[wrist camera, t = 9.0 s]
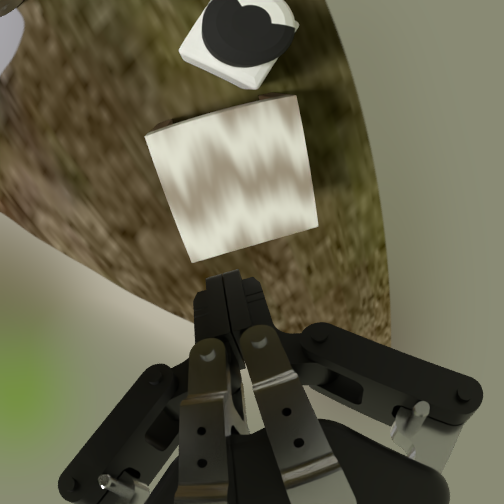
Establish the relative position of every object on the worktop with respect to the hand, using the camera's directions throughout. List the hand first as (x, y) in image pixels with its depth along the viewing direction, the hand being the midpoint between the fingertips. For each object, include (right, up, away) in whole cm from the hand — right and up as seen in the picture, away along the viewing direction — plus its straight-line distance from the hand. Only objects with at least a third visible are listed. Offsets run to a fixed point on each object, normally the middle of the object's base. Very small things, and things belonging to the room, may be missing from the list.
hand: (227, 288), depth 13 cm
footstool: (-6, +8, +14) cm, 17 cm away
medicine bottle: (-1, +22, +11) cm, 25 cm away
